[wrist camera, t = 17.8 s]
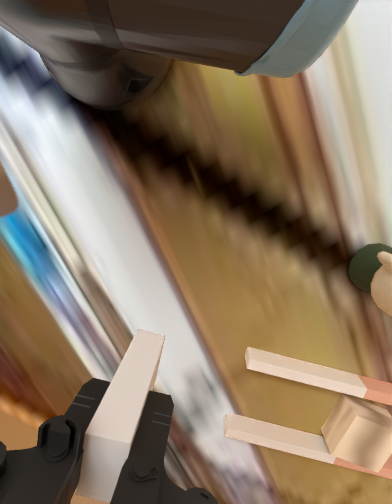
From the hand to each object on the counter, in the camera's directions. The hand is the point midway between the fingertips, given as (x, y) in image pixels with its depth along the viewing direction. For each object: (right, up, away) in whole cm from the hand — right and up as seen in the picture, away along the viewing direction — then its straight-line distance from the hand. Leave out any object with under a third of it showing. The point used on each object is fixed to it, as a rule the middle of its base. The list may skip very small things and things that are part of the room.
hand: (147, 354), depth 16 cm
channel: (+21, -17, +28) cm, 39 cm away
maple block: (+26, -19, +28) cm, 43 cm away
